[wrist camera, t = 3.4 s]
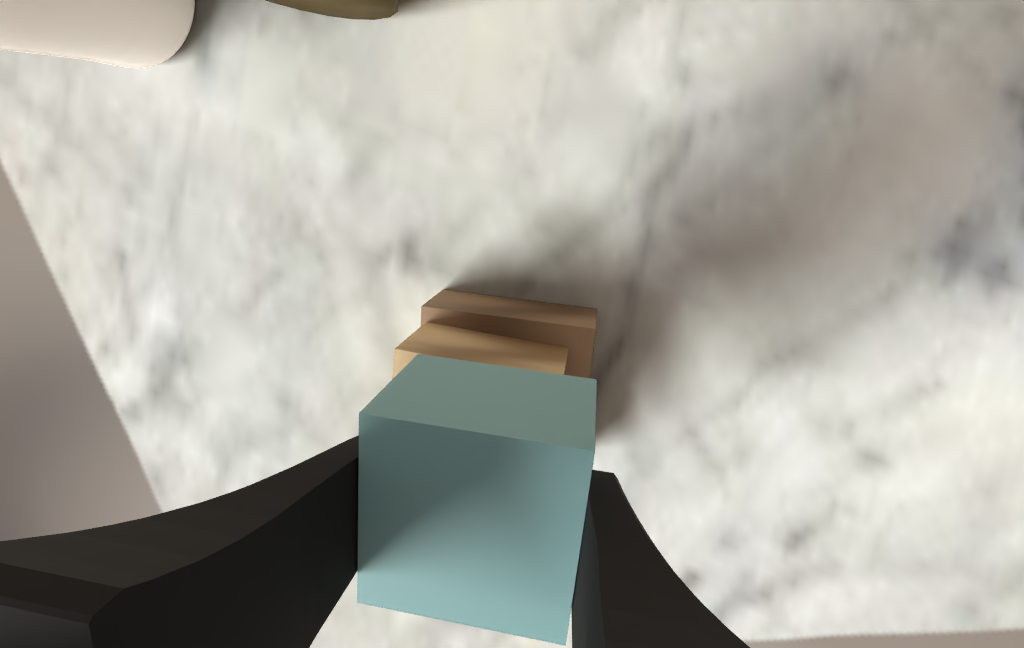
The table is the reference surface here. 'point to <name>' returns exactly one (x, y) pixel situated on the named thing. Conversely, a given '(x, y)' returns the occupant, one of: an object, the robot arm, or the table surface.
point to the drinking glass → (97, 29)
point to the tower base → (520, 322)
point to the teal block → (475, 494)
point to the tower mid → (479, 349)
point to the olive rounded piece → (345, 7)
